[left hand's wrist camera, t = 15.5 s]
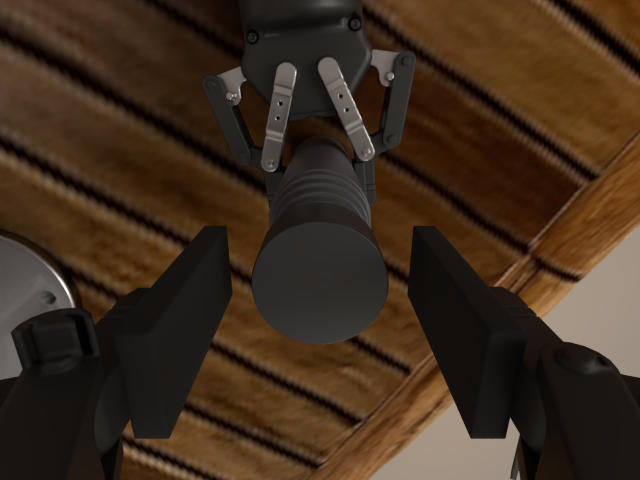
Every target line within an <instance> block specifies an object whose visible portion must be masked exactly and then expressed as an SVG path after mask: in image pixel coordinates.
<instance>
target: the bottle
mask: <svg viewBox="0 0 640 480" xmlns="http://www.w3.org/2000/svg"><path fill="white" fill-rule="evenodd" d="M316 202H325V203H332V204H337V205H340V206H343V207H345V208H347V209H349V210H351V211H353V212H354V213H356V214H357V215H358V216H360V217H361V218H362V219H363V220H364V221H365V222H366V223H367V224H368V226H369V227H370V229H371V212H370V206H369V203H368V200H367V198H366V195H365V193H364V191H363V189H362V186H361V184H360V182H359V180H358V178H357V175H356V173H355V171H354V169H353V167H352V164H351V162H350V160H349V158H348V156H347V153H346V151H345V149H344V148H343V146H342V145H341V144H340V143H339V142H338V141H337V140H335V139H334V138H332V137H329V136H325V135H315V136H311V137H308V138H306V139H305V140H303V141H302V142H301V143H300V144H299V145H298V146H297V148H296V149H295V151H294V153H293V156H292V158H291V160H290V162H289V164H288V167H287V169H286V171H285V173H284V175H283V178H282V180H281V182H280V184H279V187H278V189H277V191H276V193H275V195H274V198H273V200H272V203H271V206H270V212H269V229H270V227H271V226H272V225H273V223H274V222H275V221H276V220H277V219H278V218H279V217H280V216H281V215H283V214H284V213H286V212H287V211H289V210H291V209H293V208H295V207H297V206H300V205H303V204H308V203H316Z"/></svg>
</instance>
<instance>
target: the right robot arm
mask: <svg viewBox="0 0 640 480" xmlns="http://www.w3.org/2000/svg"><path fill="white" fill-rule="evenodd" d="M238 4H239V10H240V16H241V22H242V28H243V34H244V43H245V45H244V53H243V56H242V59H241V66H239V67H237V68H234V69H232V70H229V71H227V72H224V73H222V74H220V75H211V74H209V75H206V76H205V77H204V78H203V80H202V88H203V90H204V93H205V95H206V97H207V99H208V102H209V104H210V106H211V108H212V111H213V113H214V115H215V118H216V120H217V122H218V124H219V127H220V129H221V131H222V134H223V136H224V138H225V140H226V143H227V145H228V147H229V150H230V152H231V154H232V156H233V159H234V161H235V162H236V163H237V164H239V165H249V166H253V167H257V168H259V169H260V170H261V171H262V172H263V174H264V178H265V184H266V190H267V195H268V202H269V208H270V206H271V203H272V200H273V198H274V195H275V193H276V191H277V189H278V187H279V184H280V182H281V180H282V178H283V175H284V173H285V171H286V166H282V156H283V151H284V146H285V142H286V137H287V133H288V129H289V124H290V121H297V120H302V119H305V118H307V117H310V116H312V115H315V116H321V117H330V116H337V115H338V117H339V119H340V121H341V123H342V125H343V127H344V129H345V132H346V134H347V136H348V138H349V140H350V142H351V144H352V147H353V149H354V159H352V167H353V169H354V171H355V173H356V175H357V178H358V180H359V182H360V184H361V186H362V189H363V191H364V193H365V195H366V198H367V200H368V203H369V205H372V204H374V202H375V199H376V190H375V174H374V160H375V158H376V156H377V155H378V154H380V153H381V152H383V151H385V150H387V149H389V148H390V149H393V148H396V147H397V146H398V145H399V144H400V142H401V137H402V132H403V126H404V121H405V116H406V111H407V106H408V100H409V95H410V90H411V85H412V80H413V74H414V69H415V64H416V57H415V55H414V53H413V52H411V51H409V50H405V51H402V52H399V53H396V52H389V51H382V50H375V49H373V47H372V45H371V43H370V41H369V40H368V38H367V36H366V34H365V31H364V26H363V14H362V0H238ZM370 66H372V67H374V68H375V69H376V71H377V79H378V82H379V84H380V85H381V86H383V87H386V90H385V96H384V102H383V108H382V113H381V119H380V125H379V131H377V132H375V133H373V134H371V135H369V136H368V133H367V131H366V129H365V127H364V124H363V121H362V119H361V116H360V114H359V112H358V110H357V107H356V105H355V103H354V101H353V96H354V94H355V92H356V90H357V89H358V87H359V85H360V83H361V82H362V80H363V78H364V76H365V74H366V73H367V71H368V69H369V67H370ZM246 82H248V83H249V84H250V85H251V86H252V87H253V88H254V90H255V91H256V92H257V93H258V94H259V95H260V96H261V97H262V98H263V99H264V101H265V102H266V103H267V104H268V105H269V106H270V112H269V117H268V122H267V127H266V137H265V143H264V148H263V147H259V146H254V143H253V141H252V138H251V136H250V133H249V131H248V129H247V126H246V124H245V121H244V119H243V117H242V114H241V112H240V109H239V107H238V105H239V104H240V103H241V102H242V101H243V98H244V95H243V85H244V84H245V83H246Z"/></svg>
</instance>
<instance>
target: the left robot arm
mask: <svg viewBox="0 0 640 480" xmlns="http://www.w3.org/2000/svg"><path fill="white" fill-rule="evenodd" d="M231 297H232V283H231V272H230V260H229V249H228V238H227V227H226V226H204V228H203V229H202V230H201V231H200V232H199V233H198V234H197V236H196V237H195V238H194V239H193V240H192V241H191V242H190V244H189V245H188V246H187V247H186V248H185V249H184V250H183V252H182V253H181V254H180V255H179V256H178V257H177V258H176V259H175V261H174V262H173V263H172V264H171V265H170V266H169V267H168V269H167V270H166V271H165V272H164V273H163V274H162V275H161V277H160V278H159V279H158V280H157V281H156V282H155V283H154V285H153V286H152V287H151V288H138V289H136V290H134V291H132V292H130V293H129V294H127V295H125V296H123V297H122V298H121V299H120V300H119V301H118V302H117V303H116V304H115V305H114V306H113V307H112V309H110V310H109V311H108V312H107V313H106V314H105V315H104V318H101V319H100V320H99V321H98V322H97V323H96V324H95V325H94V323H93V319H92V314H91V313H90V312H89V311H87V310H86V309H83V308H82V302H81V298H80V295H79V292H78V290H77V288H76V286H75V284H74V282H73V280H72V278H71V277H70V275H69V274H68V273H67V271H66V270H65V269H64V268H63V266H62V265H61V264H60V263H59V262H58V261H57V260H56V259H55V258H54V257H53V256H52V255H50V254H49V253H48V252H47V251H45V250H44V249H43V248H41V247H40V246H38V245H37V244H35V243H33V242H31V241H30V240H28V239H26V238H23V237H21V236H19V235H16V234H13V233H10V232H7V231H3V230H0V480H120V474H121V467H122V460H123V453H124V452H123V445H122V440H121V436H120V435H121V433H122V432H123V430H124V428H125V427H126V425H127V423H128V422H129V420H131V424H132V429H133V433H134V438H135V439H169V438H170V436H171V433H172V431H173V429H174V426H175V424H176V422H177V420H178V417H179V415H180V413H181V411H182V408H183V406H184V404H185V401H186V399H187V397H188V395H189V392H190V390H191V388H192V385H193V383H194V381H195V379H196V376H197V374H198V372H199V370H200V367H201V365H202V363H203V360H204V358H205V356H206V354H207V351H208V349H209V347H210V344H211V342H212V340H213V338H214V335H215V333H216V331H217V329H218V326H219V324H220V322H221V319H222V317H223V315H224V313H225V310H226V308H227V306H228V304H229V301H230V299H231ZM408 297H409V299H410V301H411V304H412V306H413V308H414V310H415V313H416V315H417V317H418V319H419V322H420V324H421V326H422V329H423V331H424V333H425V335H426V338H427V340H428V342H429V345H430V347H431V349H432V351H433V354H434V356H435V358H436V360H437V363H438V365H439V367H440V370H441V372H442V374H443V376H444V379H445V381H446V383H447V385H448V388H449V390H450V392H451V395H452V397H453V399H454V401H455V404H456V406H457V408H458V411H459V413H460V415H461V417H462V420H463V422H464V424H465V426H466V429H467V431H468V433H469V436H470V438H471V439H505V438H506V433H507V429H508V424H509V420H510V418H511V419H512V421H513V423H514V425H515V426H516V428H517V430H518V431H519V433H520V436H519V440H518V445H517V449H516V453H515V457H514V461H513V466H512V470H511V477H510V478H511V479H514V480H516V478H517V474H518V471H519V473H520V479H521V480H640V378H638V377H632V376H627V375H623V374H620V372H619V370H618V369H617V368H616V366H615V365H614V364H613V363H612V362H611V361H610V360H609V359H608V358H606V357H605V356H603V355H602V354H600V353H599V352H597V351H594V350H592V349H590V348H587V347H585V346H582V345H578V344H574V343H570V342H563V341H562V340H561V339H560V338H559V337H558V336H557V335H556V334H555V333H554V332H553V331H552V330H551V329H550V328H549V327H548V326H547V325H546V324H545V323H544V322H543V321H542V320H541V319H540V318H539V317H537V316H536V314H535V312H534V311H533V310H532V309H531V308H528V305H527V304H526V303H525V302H524V301H523V300H522V299H521V298H520V297H519V296H518V295H516V294H514V293H512V292H510V291H509V290H507V289H505V288H503V287H488V286H487V285H486V283H485V282H484V281H483V280H482V279H481V278H480V277H479V275H478V274H477V273H476V272H475V271H474V270H473V269H472V267H471V266H470V265H469V264H468V263H467V262H466V261H465V259H464V258H463V257H462V256H461V255H460V254H459V253H458V252H457V250H456V249H455V248H454V247H453V246H452V245H451V244H450V242H449V241H448V240H447V239H446V238H445V237H444V236H443V234H442V233H441V232H440V231H439V230H438V229H437V228H436V226H414V227H413V238H412V249H411V260H410V272H409V283H408Z"/></svg>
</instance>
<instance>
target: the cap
mask: <svg viewBox="0 0 640 480" xmlns="http://www.w3.org/2000/svg"><path fill="white" fill-rule="evenodd" d="M251 286H252V294H253V298H254V301H255V304H256V306H257V308H258V310H259V312H260V313H261V315H262V316H263V318H264V319H265V320H266V321H267V322H268V323H269V324H270V325H271V326H272V327H273V328H274V329H275V330H277V331H278V332H280V333H281V334H283V335H285V336H287V337H289V338H291V339H294V340H296V341H300V342H303V343H309V344H331V343H336V342H340V341H344V340H347V339H349V338H351V337H354V336H355V335H357V334H359V333H360V332H362V331H363V330H364V329H366V328H367V327H368V326H369V325H370V324H371V323H372V322H373V321H374V320H375V319H376V317H377V316H378V315H379V313H380V311H381V310H382V308H383V306H384V303H385V301H386V297H387V294H388V286H389V281H388V272H387V268H386V265H385V262H384V259H383V256H382V254H381V251H380V249H379V246H378V243H377V241H376V238H375V236H374V234H373V232H372V230H371V229H370V227H369V226H368V224H367V223H366V222H365V221H364V220H363V219H362V218H361V217H360V216H358V215H357V214H356V213H354V212H353V211H351V210H349V209H347V208H345V207H343V206H340V205H337V204H332V203H325V202H316V203H308V204H303V205H300V206H297V207H295V208H293V209H291V210H289V211H287V212H286V213H284V214H283V215H281V216H280V217H279V218H278V219H277V220H276V221H275V222H274V223H273V225H272V226H271V227H270V229H269V230H268V232H267V234H266V236H265V238H264V241H263V243H262V246H261V249H260V251H259V254H258V256H257V259H256V261H255V264H254V268H253V271H252V279H251Z"/></svg>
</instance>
